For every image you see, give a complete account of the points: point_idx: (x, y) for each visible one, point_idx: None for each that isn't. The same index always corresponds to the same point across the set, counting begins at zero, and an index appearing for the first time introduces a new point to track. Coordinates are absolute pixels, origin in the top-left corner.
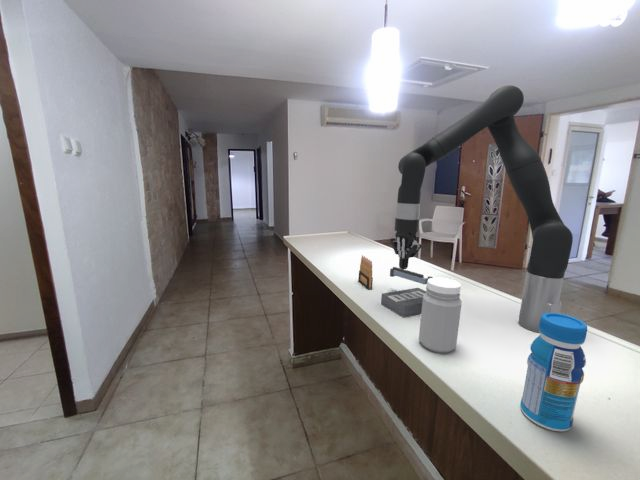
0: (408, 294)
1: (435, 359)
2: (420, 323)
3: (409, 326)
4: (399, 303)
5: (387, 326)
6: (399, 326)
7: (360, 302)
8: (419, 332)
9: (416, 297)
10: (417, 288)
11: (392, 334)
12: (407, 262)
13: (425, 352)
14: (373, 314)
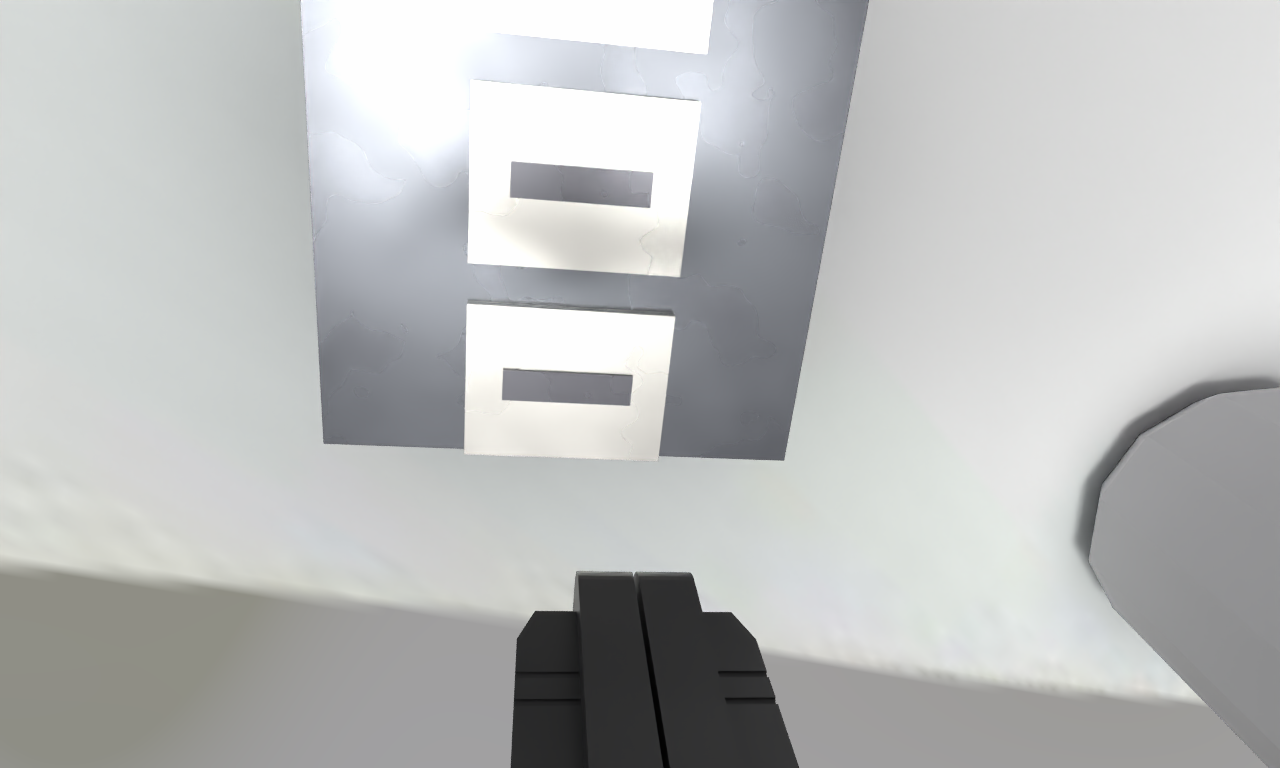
0: (534, 137)
1: None
2: (1210, 706)
3: (899, 472)
4: (695, 456)
5: (793, 624)
6: (849, 544)
7: (229, 550)
8: (1151, 646)
9: (684, 120)
10: None
11: (903, 664)
12: (779, 749)
13: None
14: (551, 596)
